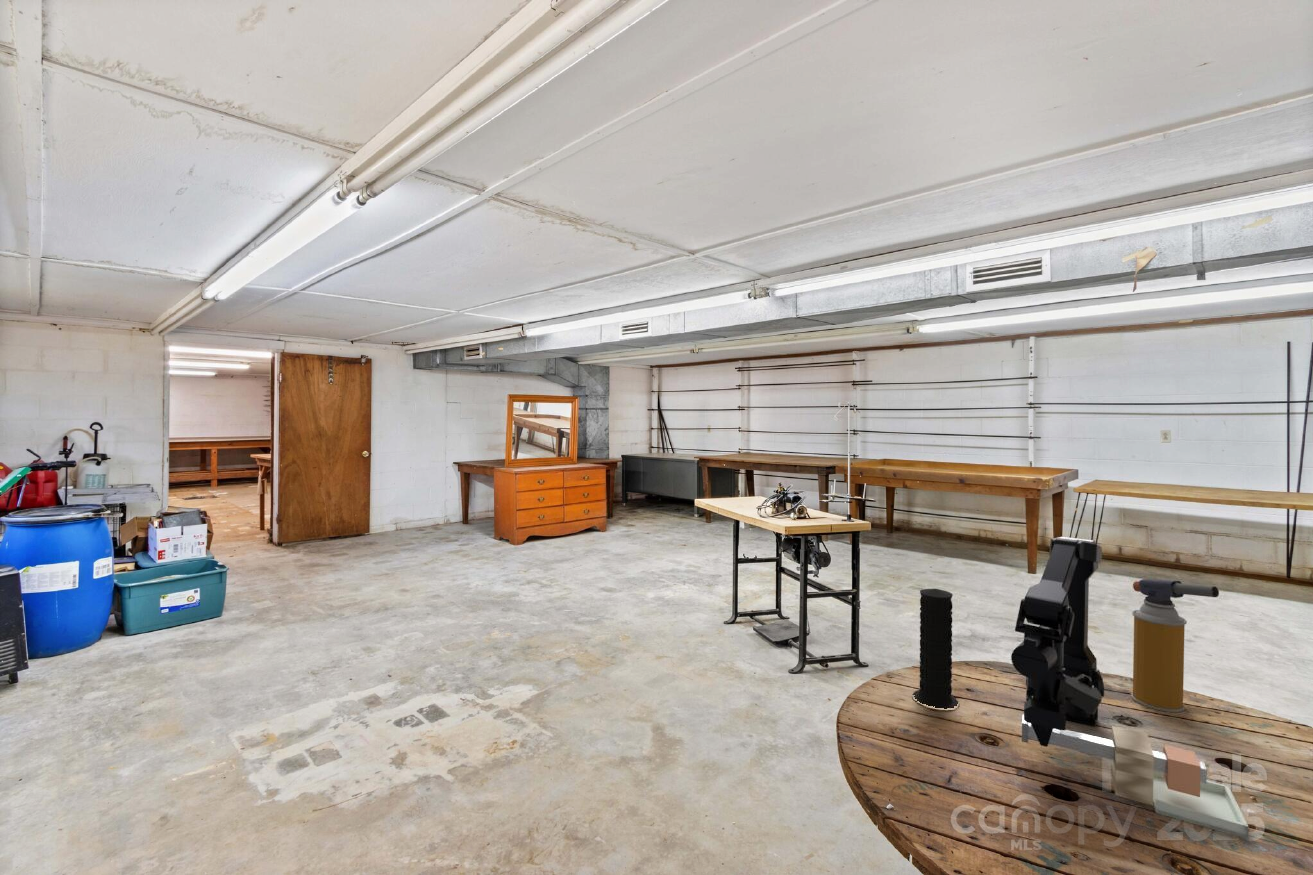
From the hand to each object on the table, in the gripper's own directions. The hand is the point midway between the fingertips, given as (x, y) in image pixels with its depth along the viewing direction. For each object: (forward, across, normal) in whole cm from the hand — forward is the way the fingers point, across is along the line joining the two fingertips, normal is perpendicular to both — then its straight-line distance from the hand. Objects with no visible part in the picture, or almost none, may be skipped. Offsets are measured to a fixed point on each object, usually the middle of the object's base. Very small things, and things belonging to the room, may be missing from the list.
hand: (1043, 742), depth 109 cm
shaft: (0, 0, -10) cm, 10 cm away
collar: (+1, 0, -20) cm, 20 cm away
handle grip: (+4, +16, +21) cm, 27 cm away
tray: (+4, 0, -21) cm, 21 cm away
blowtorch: (+4, +41, -24) cm, 48 cm away
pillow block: (+4, 0, -13) cm, 14 cm away
